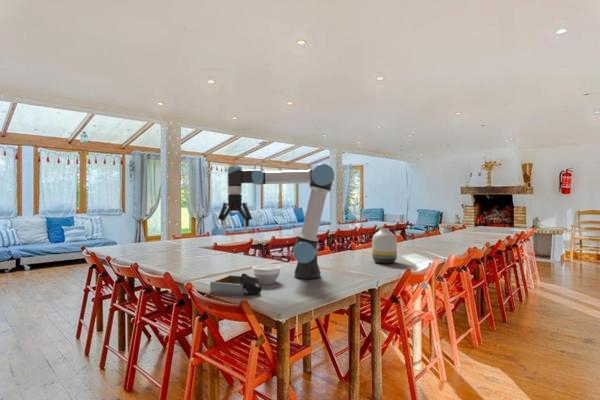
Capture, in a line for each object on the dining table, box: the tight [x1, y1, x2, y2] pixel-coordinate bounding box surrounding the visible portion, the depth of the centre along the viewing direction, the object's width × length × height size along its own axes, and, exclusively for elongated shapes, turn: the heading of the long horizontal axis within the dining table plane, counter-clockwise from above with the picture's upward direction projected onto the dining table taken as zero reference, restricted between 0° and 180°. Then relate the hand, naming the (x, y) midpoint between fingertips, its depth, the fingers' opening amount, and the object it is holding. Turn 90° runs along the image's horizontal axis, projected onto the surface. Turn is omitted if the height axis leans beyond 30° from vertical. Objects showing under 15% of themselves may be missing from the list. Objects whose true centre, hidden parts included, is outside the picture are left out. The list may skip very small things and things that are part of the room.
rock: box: [240, 273, 262, 295], centre depth 165 cm, size 11×8×10 cm
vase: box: [371, 227, 398, 265], centre depth 245 cm, size 17×17×24 cm
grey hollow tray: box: [209, 274, 261, 297], centre depth 172 cm, size 18×17×5 cm
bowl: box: [251, 263, 282, 285], centre depth 187 cm, size 16×16×9 cm
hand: (235, 232), depth 193 cm, fingers open, 13 cm apart
